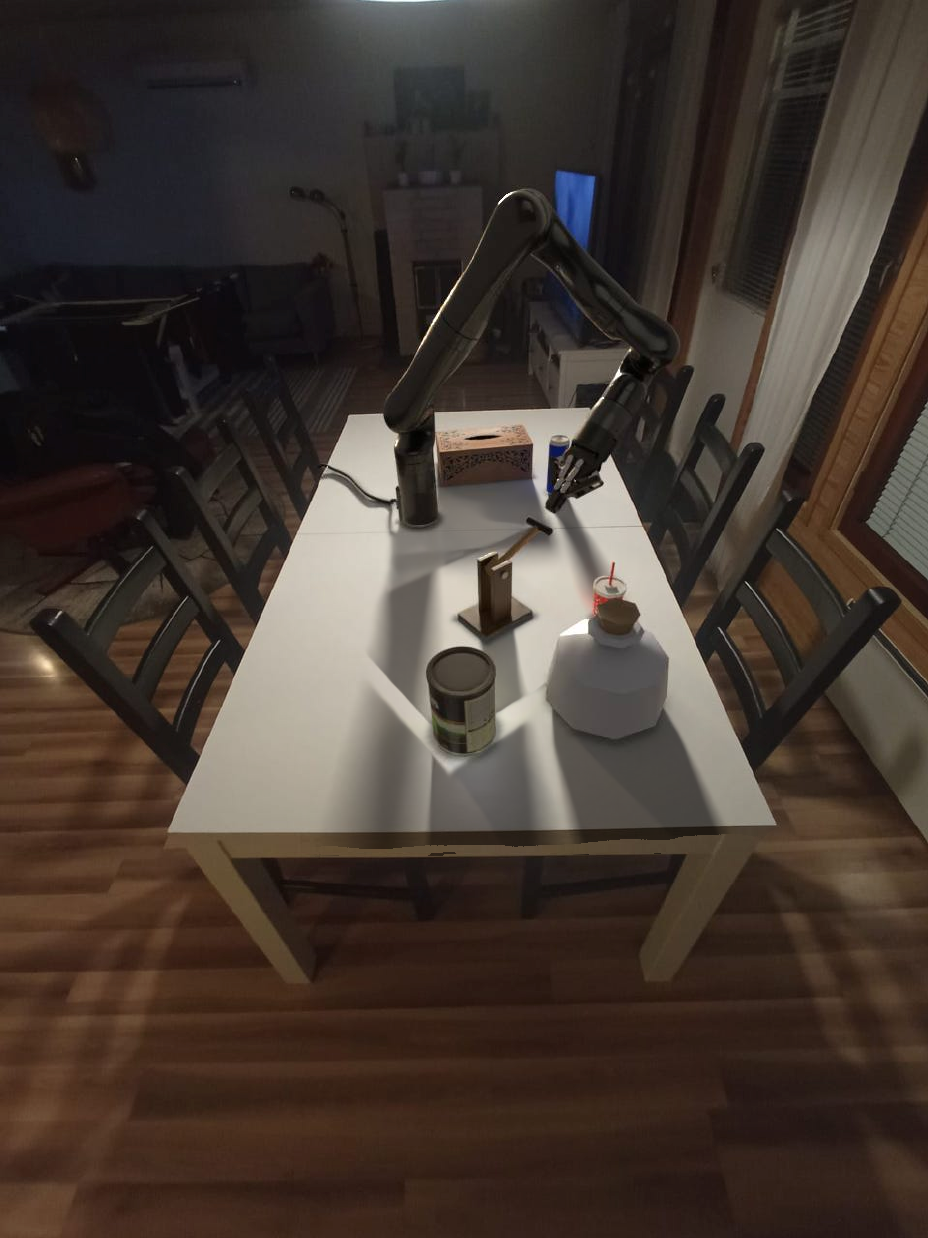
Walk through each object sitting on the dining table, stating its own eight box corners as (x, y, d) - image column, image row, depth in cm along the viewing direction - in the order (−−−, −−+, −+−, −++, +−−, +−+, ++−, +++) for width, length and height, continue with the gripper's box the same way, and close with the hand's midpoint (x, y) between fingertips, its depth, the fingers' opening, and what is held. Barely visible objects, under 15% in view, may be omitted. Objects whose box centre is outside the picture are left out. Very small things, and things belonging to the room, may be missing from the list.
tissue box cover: (522, 456, 170) (522, 424, 163) (531, 477, 159) (533, 443, 152) (437, 464, 168) (435, 431, 162) (441, 485, 157) (439, 451, 151)
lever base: (503, 595, 118) (503, 539, 109) (532, 616, 112) (535, 558, 103) (457, 618, 112) (454, 561, 104) (485, 641, 107) (484, 583, 98)
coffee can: (434, 760, 86) (427, 699, 77) (431, 709, 94) (424, 648, 85) (500, 754, 87) (500, 692, 78) (492, 704, 95) (491, 642, 86)
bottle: (671, 751, 86) (699, 664, 74) (542, 737, 89) (549, 650, 77) (659, 661, 101) (681, 576, 89) (550, 651, 104) (556, 568, 92)
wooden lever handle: (533, 521, 109) (529, 512, 107) (554, 533, 105) (551, 525, 103) (481, 570, 107) (477, 562, 105) (501, 584, 103) (497, 576, 101)
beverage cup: (601, 635, 107) (611, 576, 98) (582, 618, 111) (589, 559, 102) (626, 625, 109) (638, 566, 100) (606, 608, 113) (616, 549, 104)
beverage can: (564, 497, 149) (569, 442, 140) (545, 495, 150) (548, 442, 141) (566, 488, 153) (570, 434, 144) (547, 487, 154) (550, 434, 144)
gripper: (567, 410, 105) (516, 490, 107) (621, 430, 96) (565, 516, 99) (584, 430, 111) (535, 506, 113) (637, 451, 102) (583, 532, 105)
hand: (549, 510), depth 106 cm, fingers closed
